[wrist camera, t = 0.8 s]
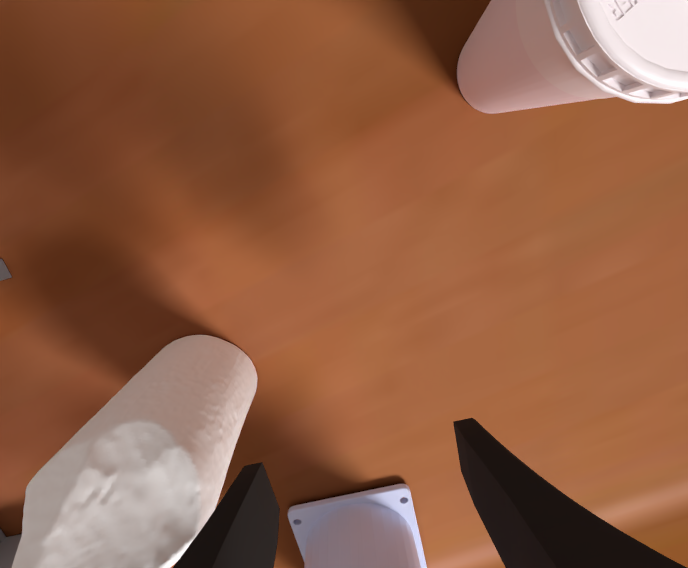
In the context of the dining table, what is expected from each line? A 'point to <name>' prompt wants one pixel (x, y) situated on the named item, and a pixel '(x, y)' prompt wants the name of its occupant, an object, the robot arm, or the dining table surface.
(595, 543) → the robot arm
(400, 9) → the dining table surface
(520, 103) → the smoothie
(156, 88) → the dining table surface
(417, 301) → the dining table surface
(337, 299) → the dining table surface
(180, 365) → the white rounded-top container
